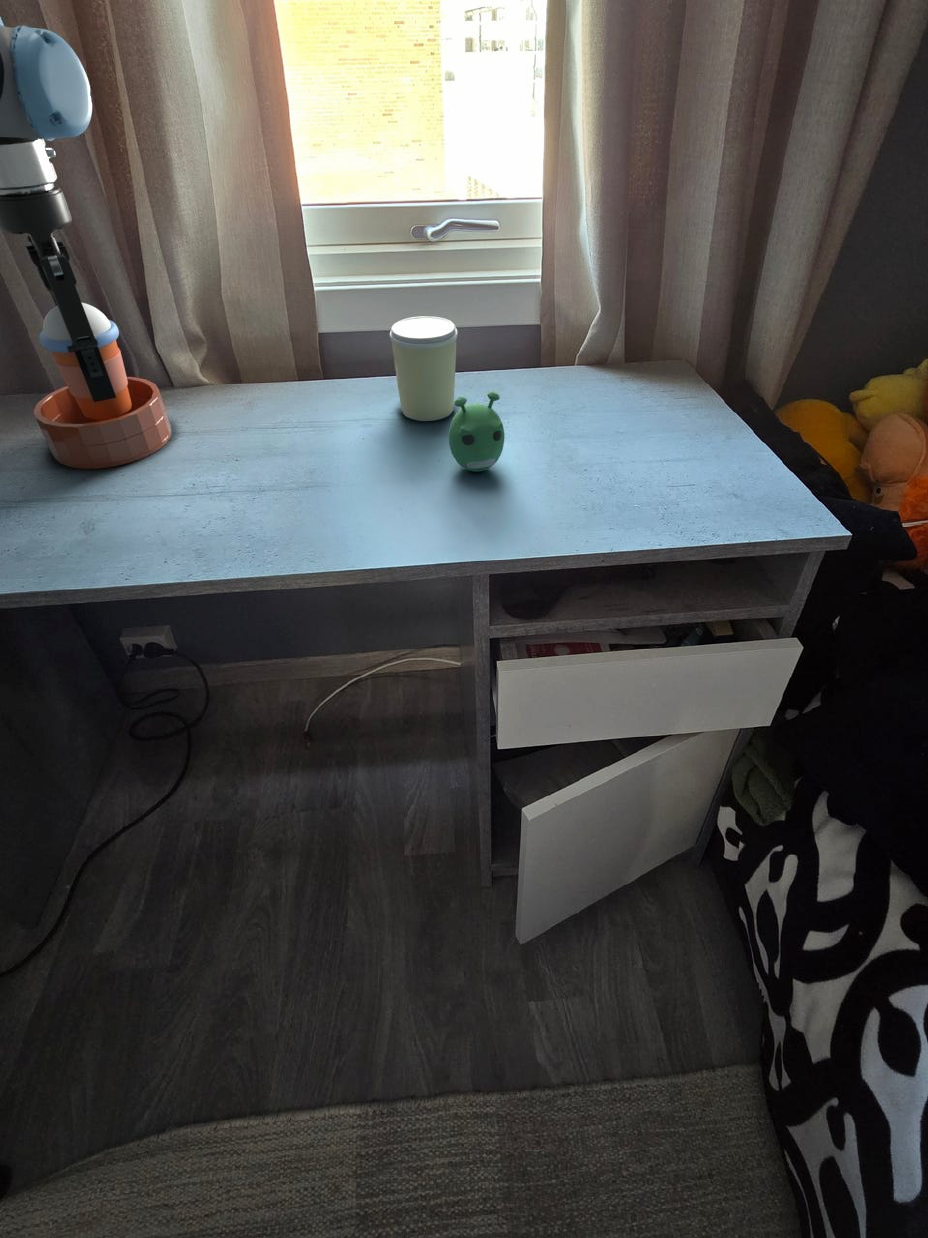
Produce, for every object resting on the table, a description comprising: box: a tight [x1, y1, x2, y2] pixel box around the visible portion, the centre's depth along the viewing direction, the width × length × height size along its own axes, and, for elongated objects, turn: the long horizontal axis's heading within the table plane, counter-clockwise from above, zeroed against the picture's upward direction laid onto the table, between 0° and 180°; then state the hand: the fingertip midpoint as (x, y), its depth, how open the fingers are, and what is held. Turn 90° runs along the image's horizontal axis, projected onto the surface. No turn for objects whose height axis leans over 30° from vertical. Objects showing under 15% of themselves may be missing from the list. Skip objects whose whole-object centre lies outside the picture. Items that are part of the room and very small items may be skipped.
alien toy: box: [448, 391, 505, 472], centre depth 86 cm, size 7×8×10 cm
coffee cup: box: [389, 315, 458, 422], centre depth 98 cm, size 9×9×12 cm
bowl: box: [33, 376, 172, 470], centre depth 94 cm, size 16×16×6 cm
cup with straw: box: [39, 302, 132, 420], centre depth 87 cm, size 9×9×18 cm
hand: (98, 385), depth 91 cm, fingers closed on cup with straw, 9 cm apart
